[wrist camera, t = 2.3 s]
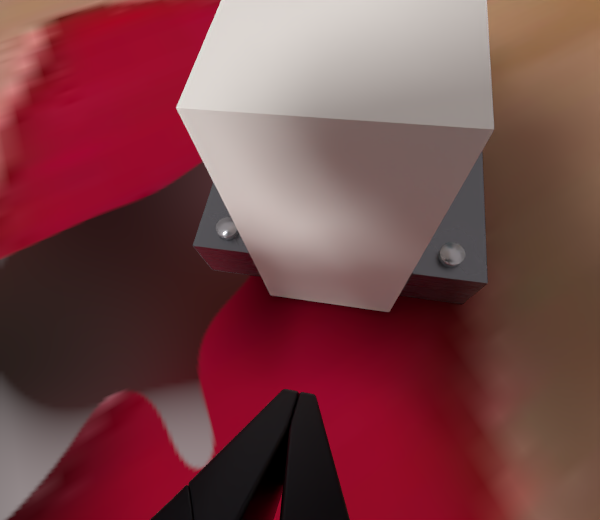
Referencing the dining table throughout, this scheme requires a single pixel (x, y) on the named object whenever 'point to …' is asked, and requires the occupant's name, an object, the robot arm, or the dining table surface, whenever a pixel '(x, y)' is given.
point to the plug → (340, 134)
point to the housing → (429, 270)
